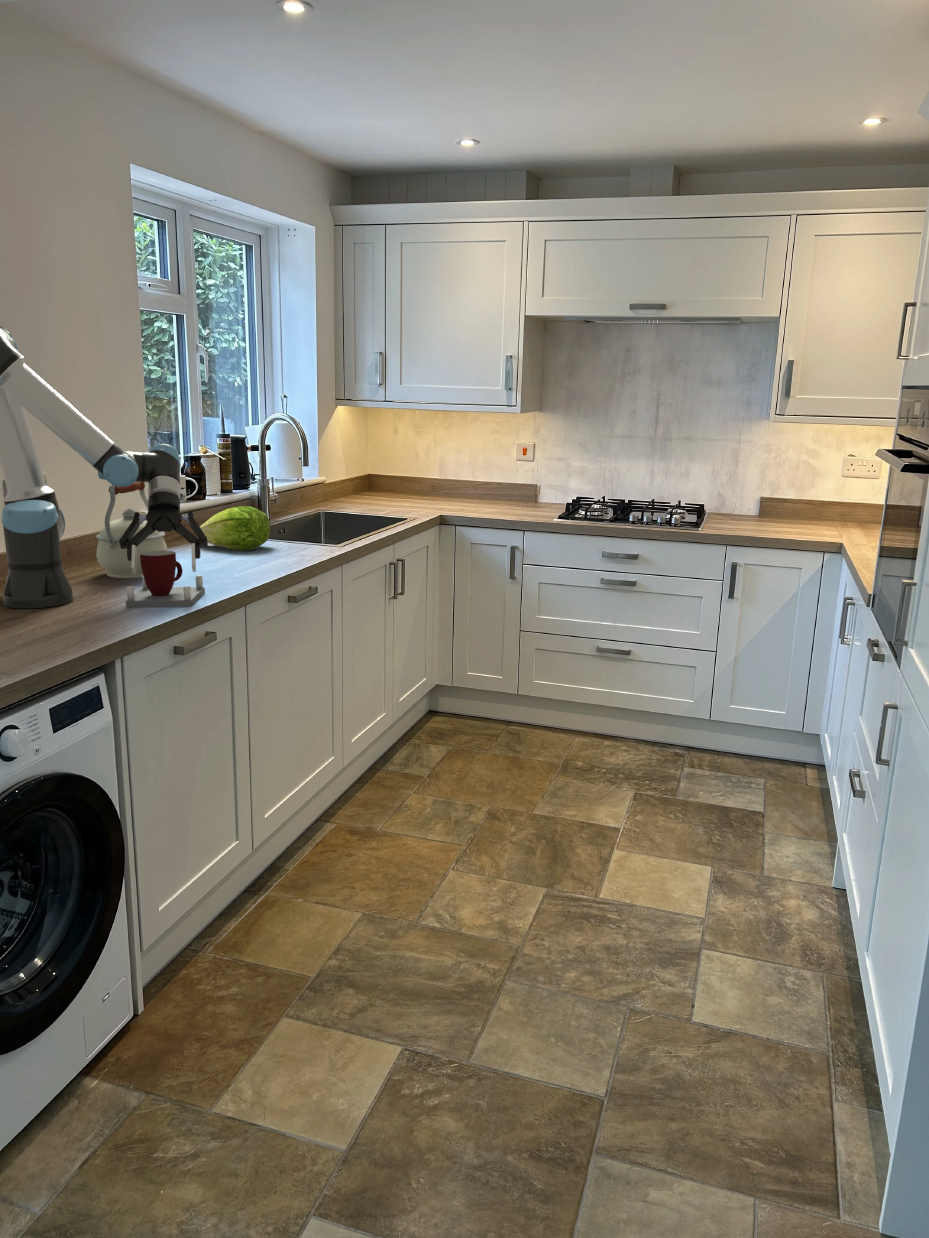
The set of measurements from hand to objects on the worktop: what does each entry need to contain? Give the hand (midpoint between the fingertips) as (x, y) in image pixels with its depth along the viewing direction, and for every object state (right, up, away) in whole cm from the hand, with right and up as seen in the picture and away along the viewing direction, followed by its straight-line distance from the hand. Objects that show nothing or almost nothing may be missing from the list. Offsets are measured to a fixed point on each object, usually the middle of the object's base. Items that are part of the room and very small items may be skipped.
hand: (164, 569), depth 220 cm
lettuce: (-3, +11, +77) cm, 78 cm away
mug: (-1, -6, +4) cm, 7 cm away
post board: (-1, -7, +4) cm, 8 cm away
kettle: (-19, +1, +36) cm, 41 cm away
